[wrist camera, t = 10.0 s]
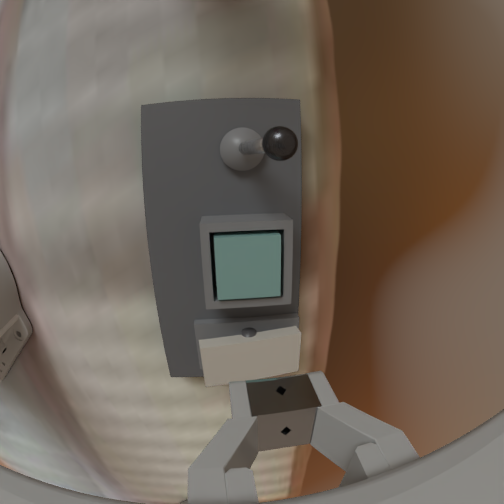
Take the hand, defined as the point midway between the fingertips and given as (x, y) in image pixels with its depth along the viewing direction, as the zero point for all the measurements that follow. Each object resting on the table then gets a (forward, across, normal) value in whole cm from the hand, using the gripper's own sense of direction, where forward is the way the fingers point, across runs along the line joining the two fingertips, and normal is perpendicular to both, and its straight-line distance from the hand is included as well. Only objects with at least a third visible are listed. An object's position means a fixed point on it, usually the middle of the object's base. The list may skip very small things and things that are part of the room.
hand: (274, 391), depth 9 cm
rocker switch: (+13, -1, +8) cm, 15 cm away
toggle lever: (+14, -1, -8) cm, 16 cm away
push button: (+15, -1, 0) cm, 15 cm away
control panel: (+18, +1, 0) cm, 18 cm away
